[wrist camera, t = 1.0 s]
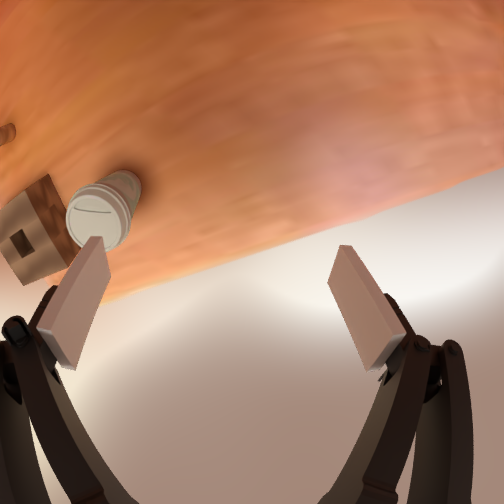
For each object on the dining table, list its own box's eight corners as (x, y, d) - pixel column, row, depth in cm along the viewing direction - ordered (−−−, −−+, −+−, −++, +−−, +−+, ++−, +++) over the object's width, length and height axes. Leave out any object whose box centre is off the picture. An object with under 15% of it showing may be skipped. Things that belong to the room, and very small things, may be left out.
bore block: (6, 205, 33) (-15, 223, 28) (48, 173, 33) (24, 190, 27) (39, 263, 41) (23, 286, 35) (84, 243, 40) (68, 267, 34)
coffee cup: (161, 183, 37) (139, 220, 27) (131, 223, 40) (106, 269, 30) (117, 149, 33) (79, 174, 23) (90, 193, 36) (53, 230, 26)
